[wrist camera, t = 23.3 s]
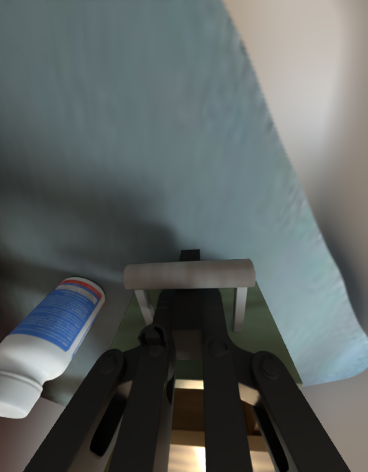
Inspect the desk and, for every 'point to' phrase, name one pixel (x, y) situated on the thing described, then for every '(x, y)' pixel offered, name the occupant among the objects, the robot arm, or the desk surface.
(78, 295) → the pill bottle
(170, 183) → the desk surface
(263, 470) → the cabinet
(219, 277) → the storage drawer
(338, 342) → the desk surface
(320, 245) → the desk surface
